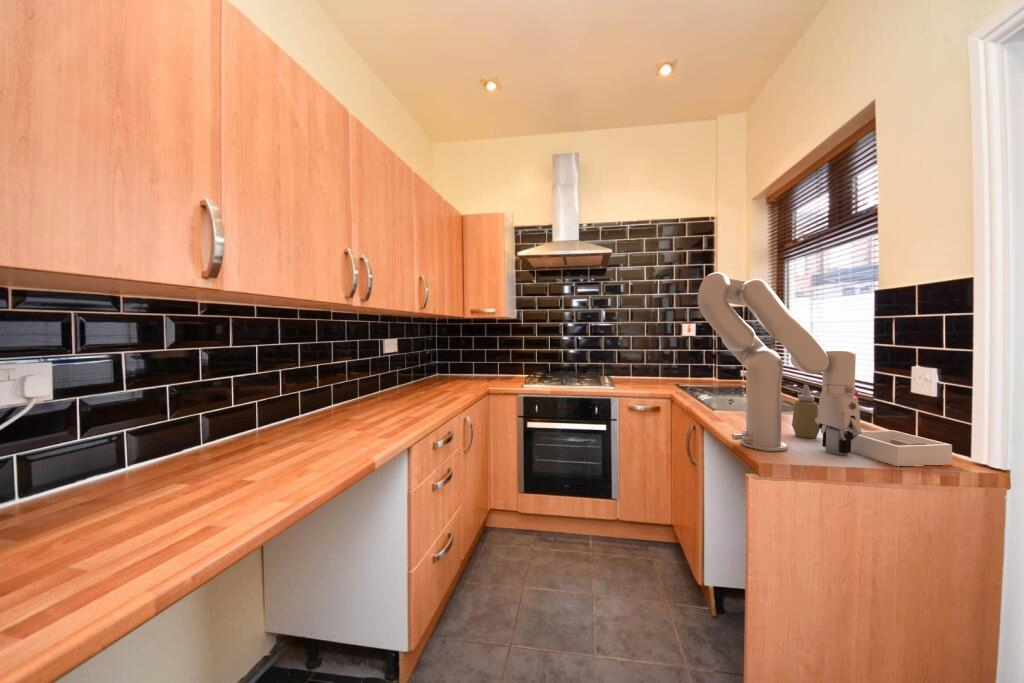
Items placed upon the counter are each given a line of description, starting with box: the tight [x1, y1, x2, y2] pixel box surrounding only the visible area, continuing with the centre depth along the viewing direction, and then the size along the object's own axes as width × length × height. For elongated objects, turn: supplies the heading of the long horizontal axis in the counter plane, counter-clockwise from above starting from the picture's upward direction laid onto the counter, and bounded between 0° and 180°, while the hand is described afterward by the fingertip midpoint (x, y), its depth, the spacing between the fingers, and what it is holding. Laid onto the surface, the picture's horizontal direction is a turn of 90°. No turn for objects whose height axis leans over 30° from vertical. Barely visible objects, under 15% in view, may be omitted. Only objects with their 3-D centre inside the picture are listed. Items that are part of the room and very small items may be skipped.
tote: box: [851, 429, 953, 468], centre depth 113 cm, size 16×16×6 cm
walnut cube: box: [891, 439, 927, 446], centre depth 110 cm, size 5×5×5 cm
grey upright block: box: [825, 427, 848, 456], centre depth 118 cm, size 5×5×7 cm
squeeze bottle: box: [791, 384, 821, 439], centre depth 136 cm, size 8×8×18 cm
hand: (836, 449), depth 118 cm, fingers closed on grey upright block, 5 cm apart
